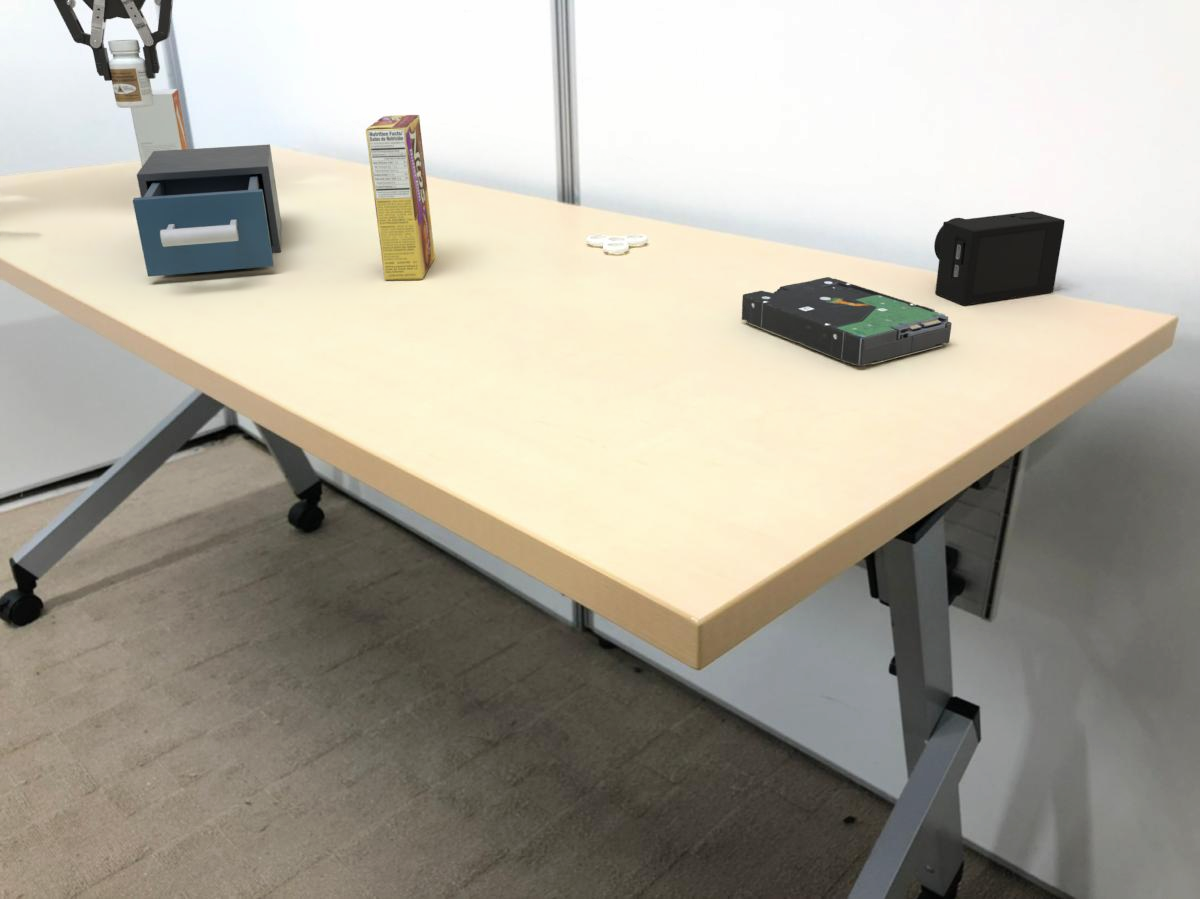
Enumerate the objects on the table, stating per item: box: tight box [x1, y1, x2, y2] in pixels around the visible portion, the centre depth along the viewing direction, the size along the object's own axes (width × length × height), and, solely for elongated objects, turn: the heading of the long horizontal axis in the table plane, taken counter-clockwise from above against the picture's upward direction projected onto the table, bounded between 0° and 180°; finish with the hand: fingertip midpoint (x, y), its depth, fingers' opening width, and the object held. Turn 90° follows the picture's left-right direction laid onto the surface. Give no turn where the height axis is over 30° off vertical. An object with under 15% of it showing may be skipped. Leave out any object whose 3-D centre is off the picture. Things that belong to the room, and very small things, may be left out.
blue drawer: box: [132, 174, 274, 278], centre depth 113 cm, size 21×12×8 cm, turn 15°
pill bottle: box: [107, 39, 154, 109], centre depth 132 cm, size 4×4×8 cm
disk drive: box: [741, 276, 953, 367], centre depth 90 cm, size 10×3×15 cm
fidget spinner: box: [585, 233, 649, 254], centre depth 120 cm, size 7×6×1 cm
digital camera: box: [933, 210, 1066, 307], centre depth 99 cm, size 10×5×7 cm, turn 111°
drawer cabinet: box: [136, 144, 282, 253], centre depth 124 cm, size 17×14×10 cm
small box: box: [130, 88, 189, 167], centre depth 162 cm, size 8×6×13 cm
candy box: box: [365, 114, 436, 281], centre depth 109 cm, size 9×4×15 cm, turn 0°
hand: (130, 78), depth 132 cm, fingers closed on pill bottle, 4 cm apart
